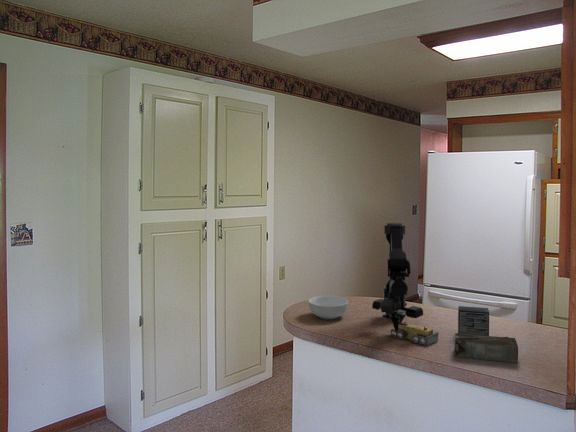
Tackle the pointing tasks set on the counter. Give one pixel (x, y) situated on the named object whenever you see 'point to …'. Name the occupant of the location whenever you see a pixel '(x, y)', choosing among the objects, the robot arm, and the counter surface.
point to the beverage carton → (486, 347)
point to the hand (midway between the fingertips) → (396, 330)
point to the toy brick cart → (417, 337)
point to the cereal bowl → (328, 306)
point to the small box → (473, 321)
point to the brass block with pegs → (414, 330)
